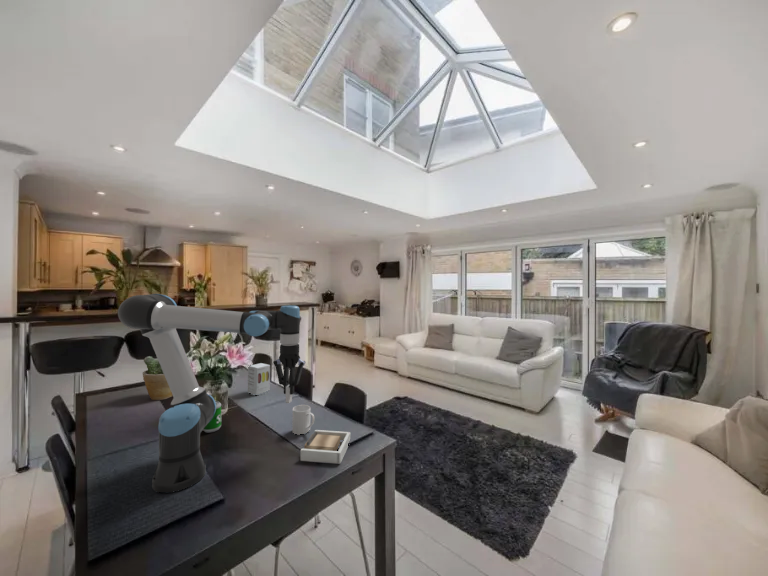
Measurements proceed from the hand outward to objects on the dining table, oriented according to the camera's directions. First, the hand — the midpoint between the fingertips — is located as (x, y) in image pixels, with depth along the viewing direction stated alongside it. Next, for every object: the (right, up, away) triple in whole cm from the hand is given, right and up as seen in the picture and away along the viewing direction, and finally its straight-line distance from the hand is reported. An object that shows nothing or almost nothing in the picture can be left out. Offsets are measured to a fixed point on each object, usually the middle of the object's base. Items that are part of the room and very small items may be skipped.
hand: (288, 401), depth 125 cm
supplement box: (-38, -18, +63) cm, 76 cm away
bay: (+16, -19, -2) cm, 25 cm away
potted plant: (-91, -18, +56) cm, 108 cm away
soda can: (-40, -19, +15) cm, 46 cm away
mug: (+3, -19, +13) cm, 23 cm away
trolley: (+14, -19, -1) cm, 24 cm away
